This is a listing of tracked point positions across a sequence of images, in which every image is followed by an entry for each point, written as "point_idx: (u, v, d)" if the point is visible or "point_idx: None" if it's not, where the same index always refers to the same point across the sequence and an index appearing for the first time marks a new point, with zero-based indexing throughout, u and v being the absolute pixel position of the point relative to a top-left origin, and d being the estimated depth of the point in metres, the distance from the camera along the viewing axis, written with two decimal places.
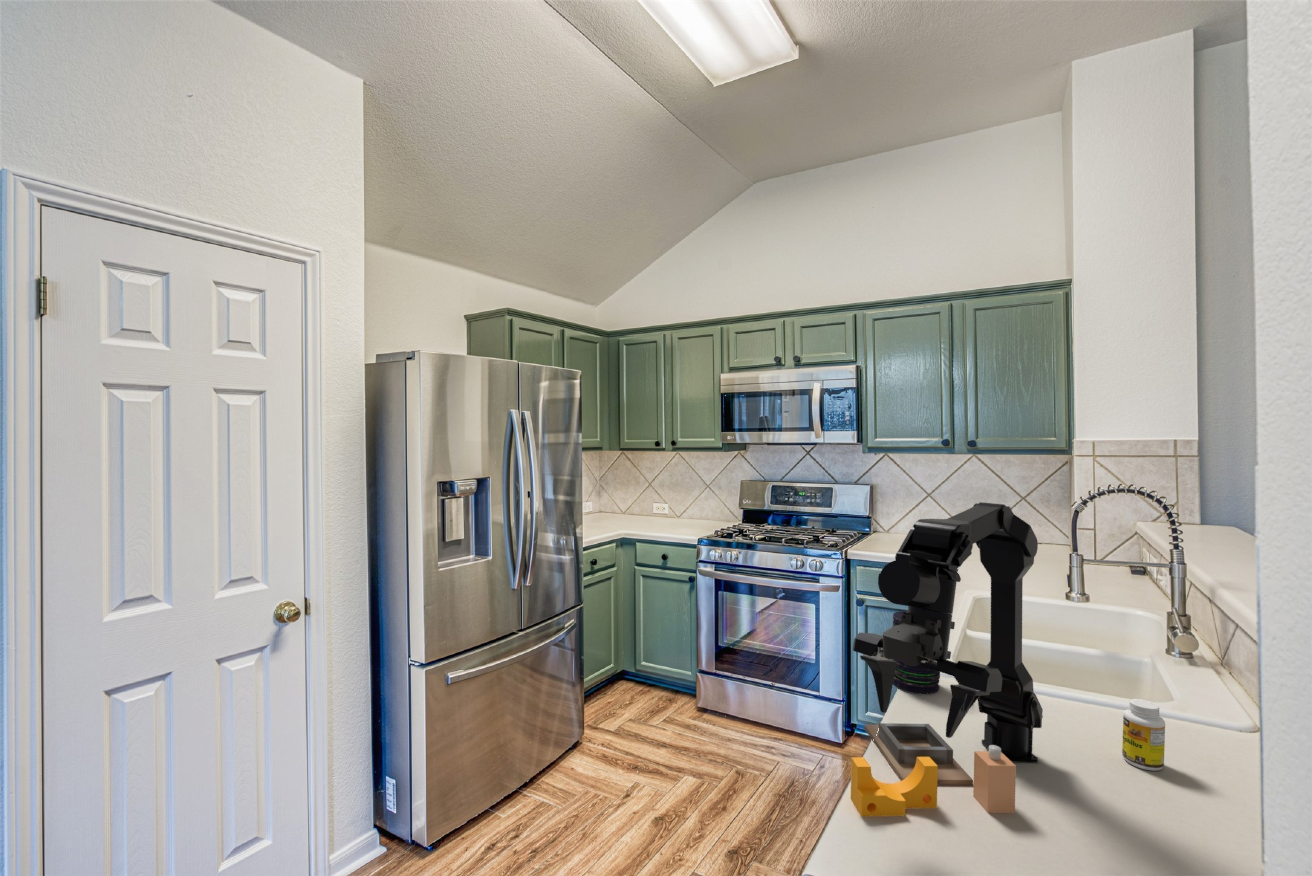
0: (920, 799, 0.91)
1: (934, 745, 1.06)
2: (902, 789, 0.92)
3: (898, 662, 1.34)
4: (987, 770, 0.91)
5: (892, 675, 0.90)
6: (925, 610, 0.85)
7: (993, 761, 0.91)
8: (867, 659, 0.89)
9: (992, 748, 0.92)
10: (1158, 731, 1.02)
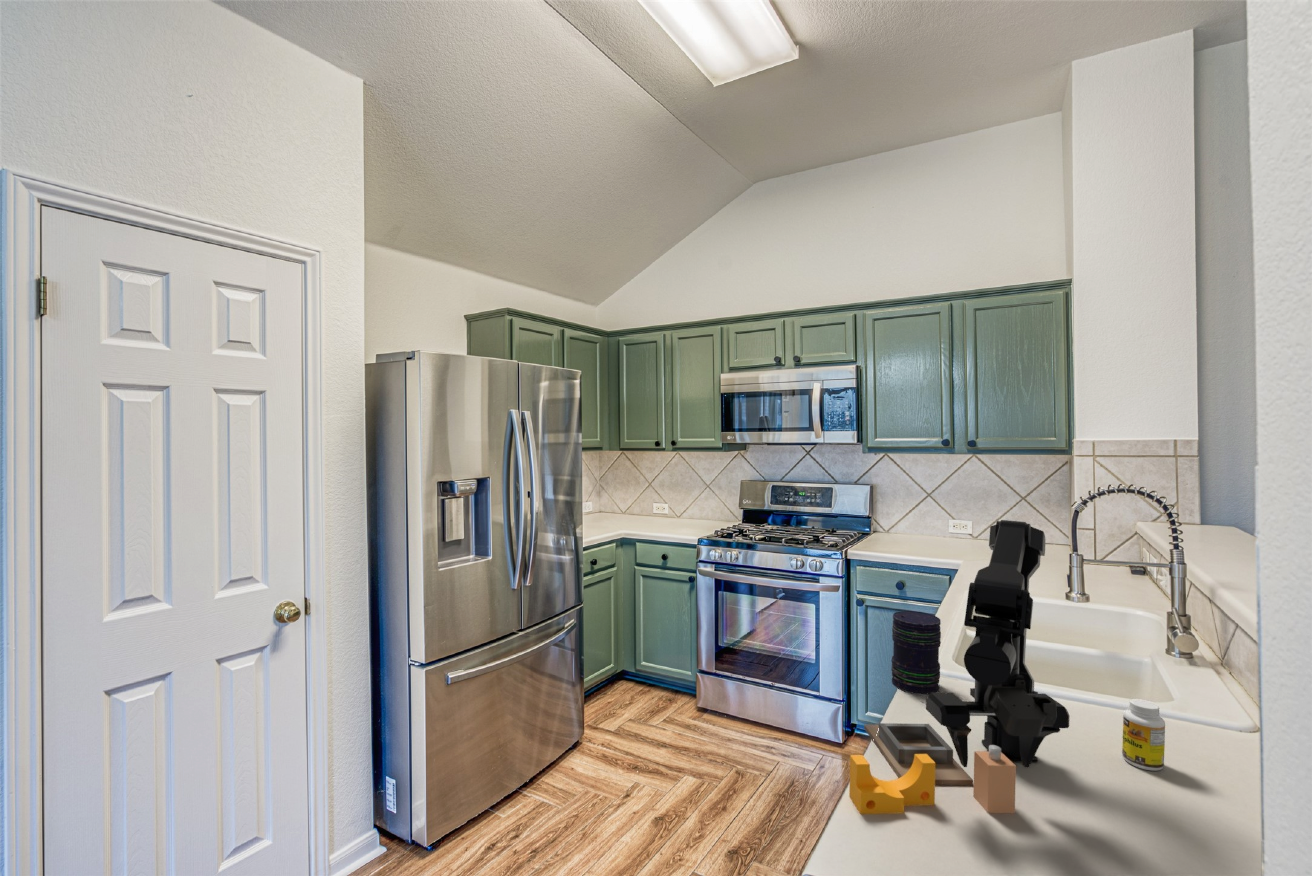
0: (918, 796, 0.92)
1: (934, 745, 1.06)
2: (900, 786, 0.93)
3: (898, 662, 1.34)
4: (987, 770, 0.91)
5: None
6: (1011, 671, 0.89)
7: (993, 761, 0.91)
8: (961, 730, 0.89)
9: (992, 748, 0.92)
10: (1158, 731, 1.02)
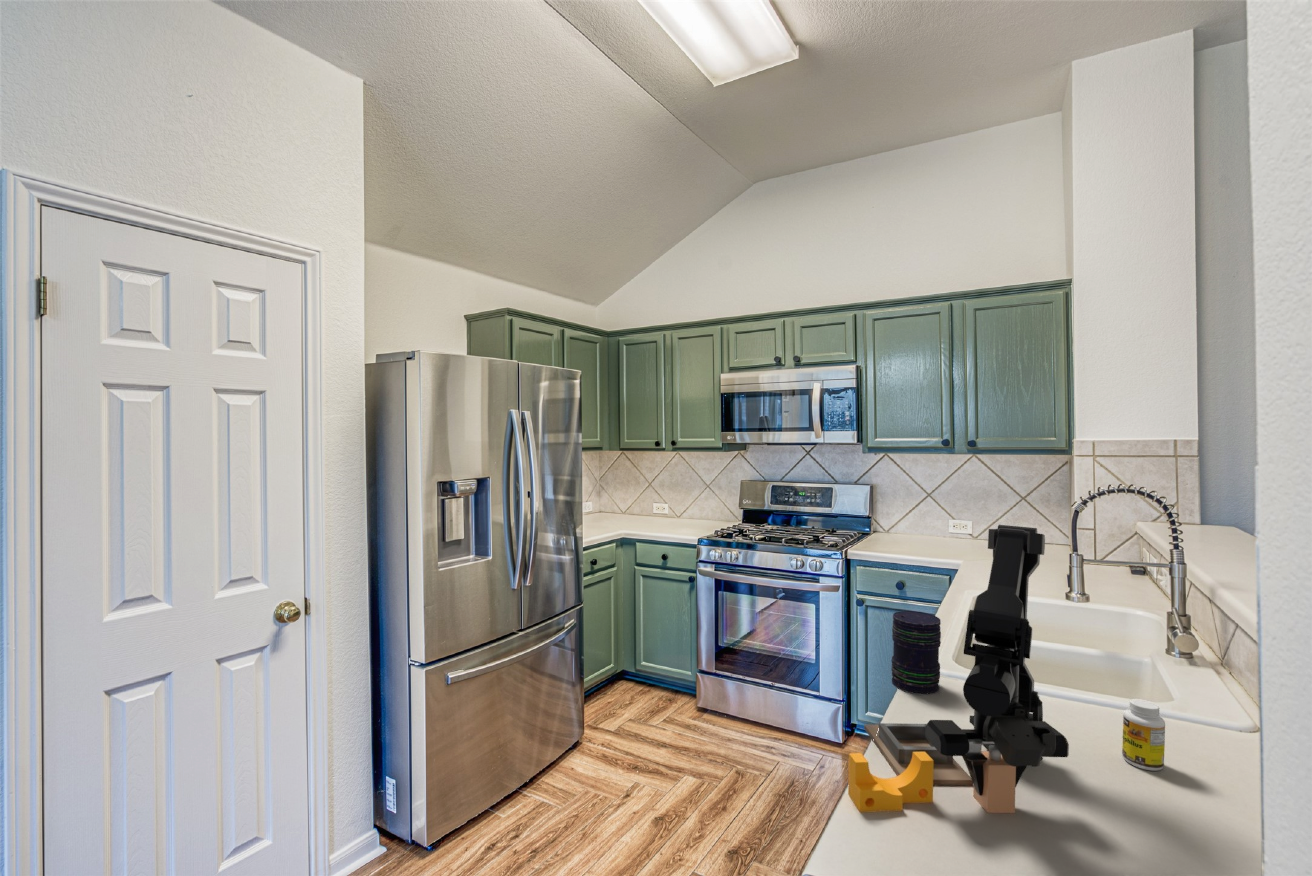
0: (916, 793, 0.93)
1: None
2: (899, 784, 0.93)
3: (898, 662, 1.34)
4: (987, 770, 0.91)
5: None
6: (1011, 700, 0.89)
7: (993, 760, 0.91)
8: (977, 759, 0.89)
9: (992, 748, 0.92)
10: (1158, 731, 1.02)
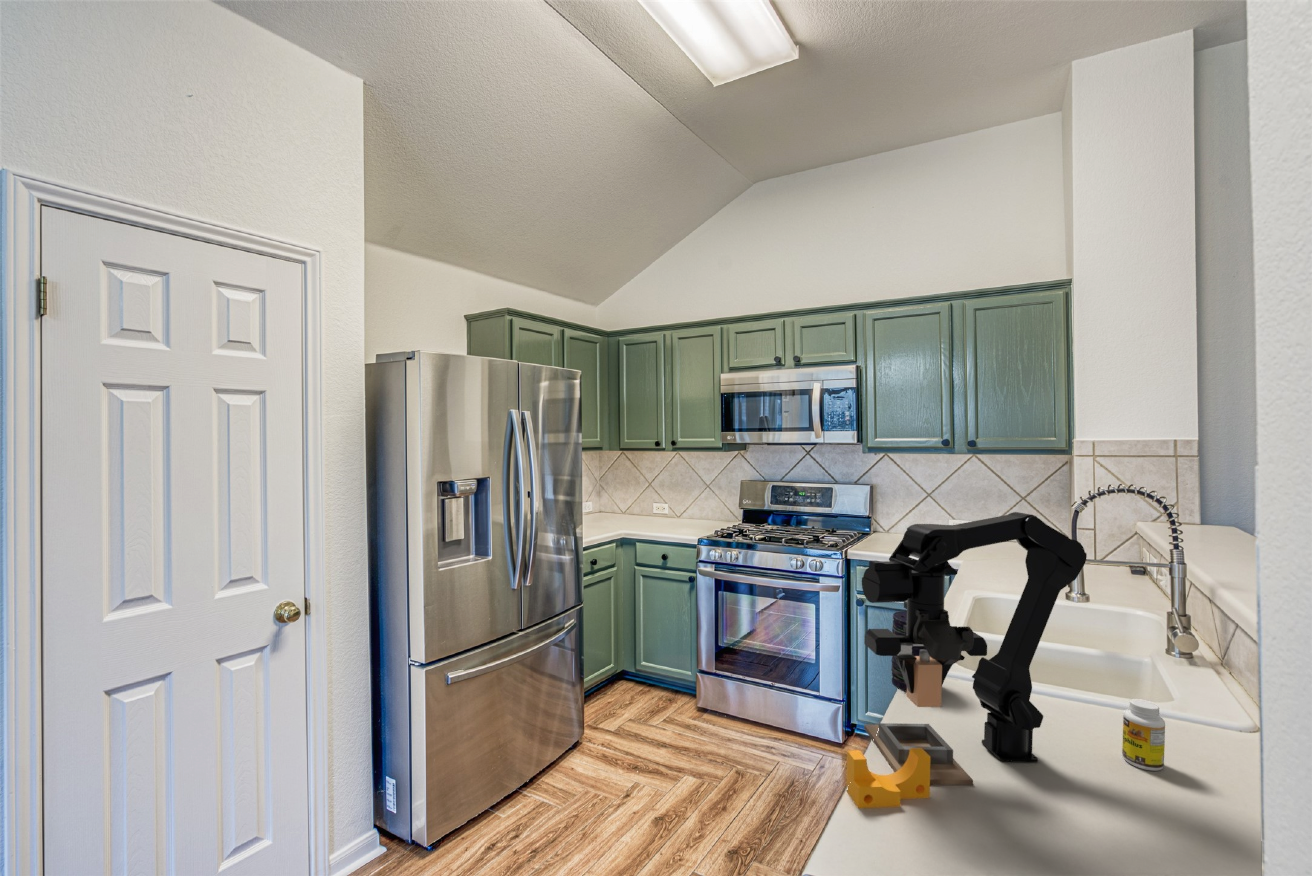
0: (914, 789, 0.94)
1: (934, 745, 1.06)
2: (896, 780, 0.94)
3: None
4: (917, 669, 1.02)
5: None
6: (937, 606, 1.01)
7: (923, 662, 1.03)
8: (908, 658, 1.01)
9: (922, 651, 1.04)
10: (1158, 731, 1.02)
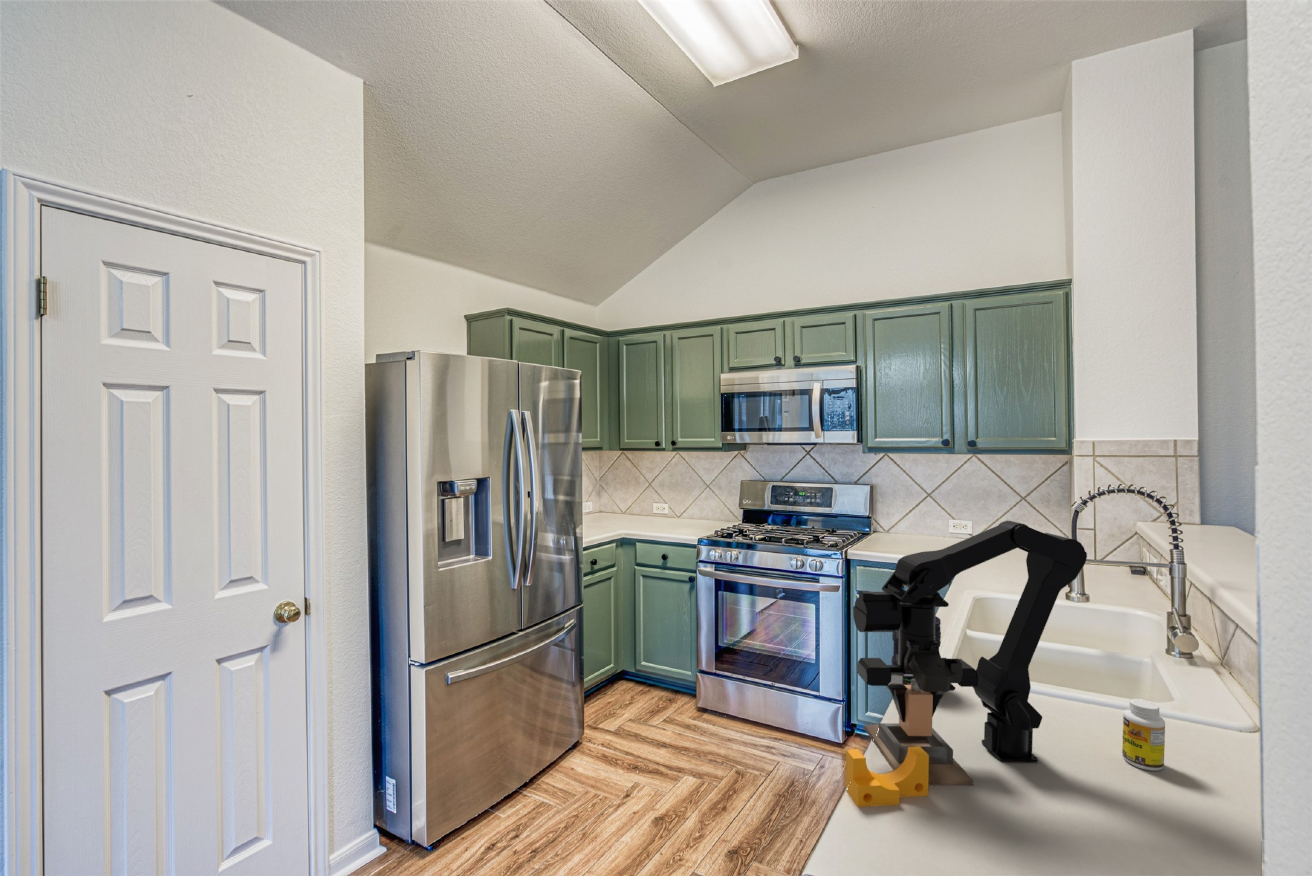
0: (912, 788, 0.94)
1: (934, 745, 1.06)
2: (895, 779, 0.95)
3: None
4: (908, 699, 1.04)
5: None
6: (927, 637, 1.03)
7: (914, 691, 1.05)
8: (898, 689, 1.03)
9: (913, 681, 1.06)
10: (1158, 731, 1.02)
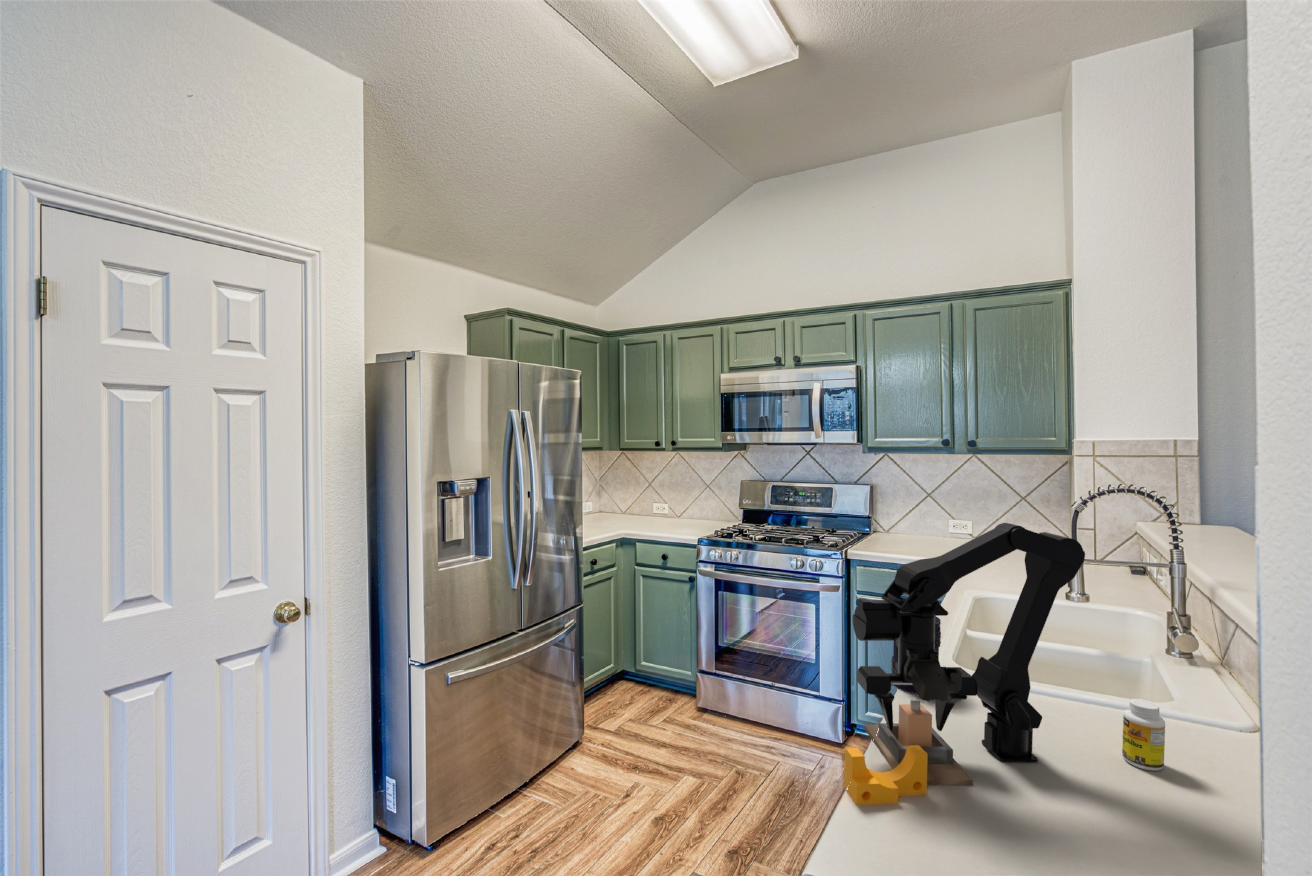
0: (911, 786, 0.94)
1: (934, 745, 1.06)
2: (894, 777, 0.95)
3: None
4: (907, 719, 1.04)
5: None
6: (927, 646, 1.03)
7: (914, 711, 1.05)
8: (885, 697, 1.03)
9: (913, 701, 1.06)
10: (1158, 731, 1.02)
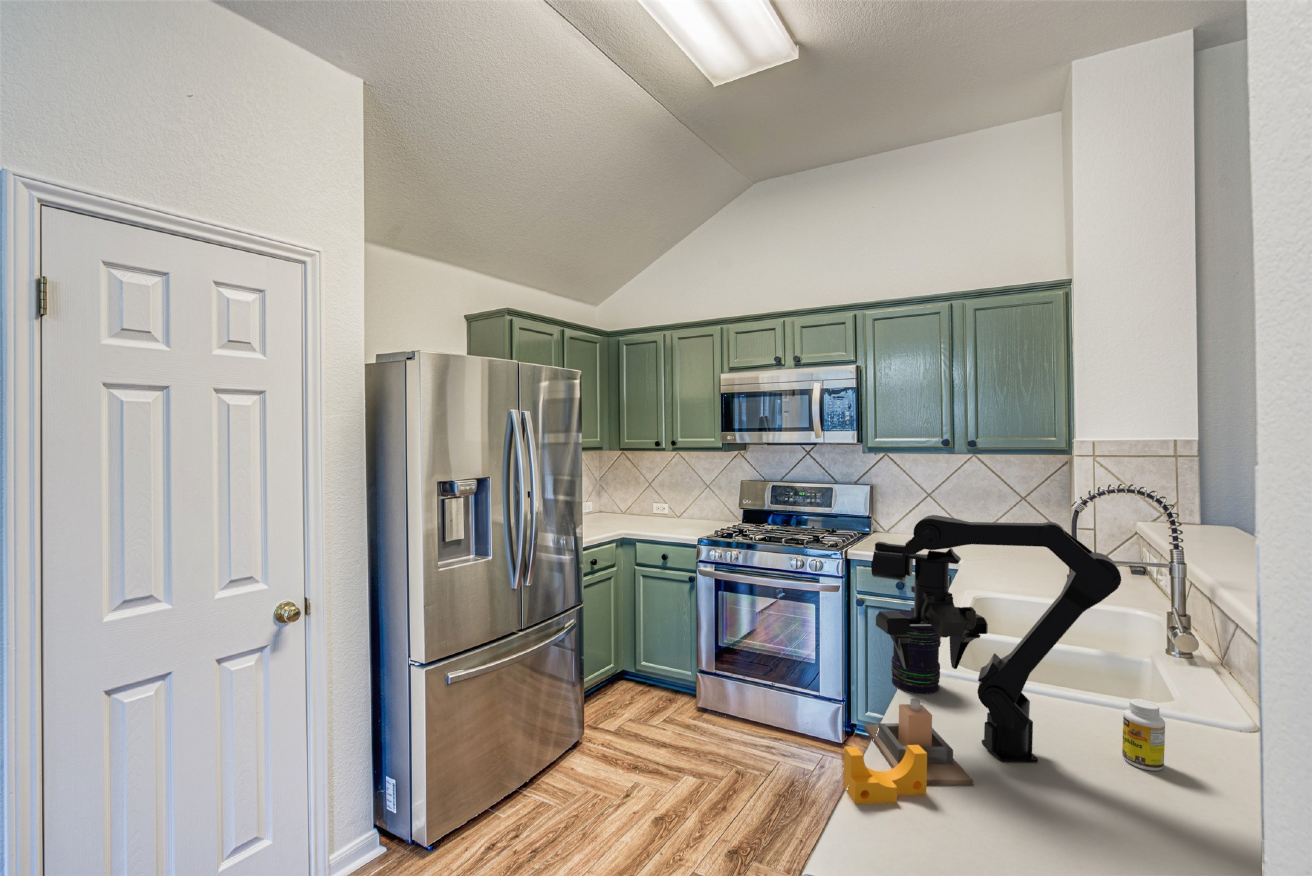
0: (910, 786, 0.95)
1: (934, 745, 1.06)
2: (893, 776, 0.95)
3: (898, 662, 1.34)
4: (907, 719, 1.04)
5: None
6: (942, 589, 1.11)
7: (914, 711, 1.05)
8: (903, 637, 1.11)
9: (913, 701, 1.06)
10: (1158, 731, 1.02)
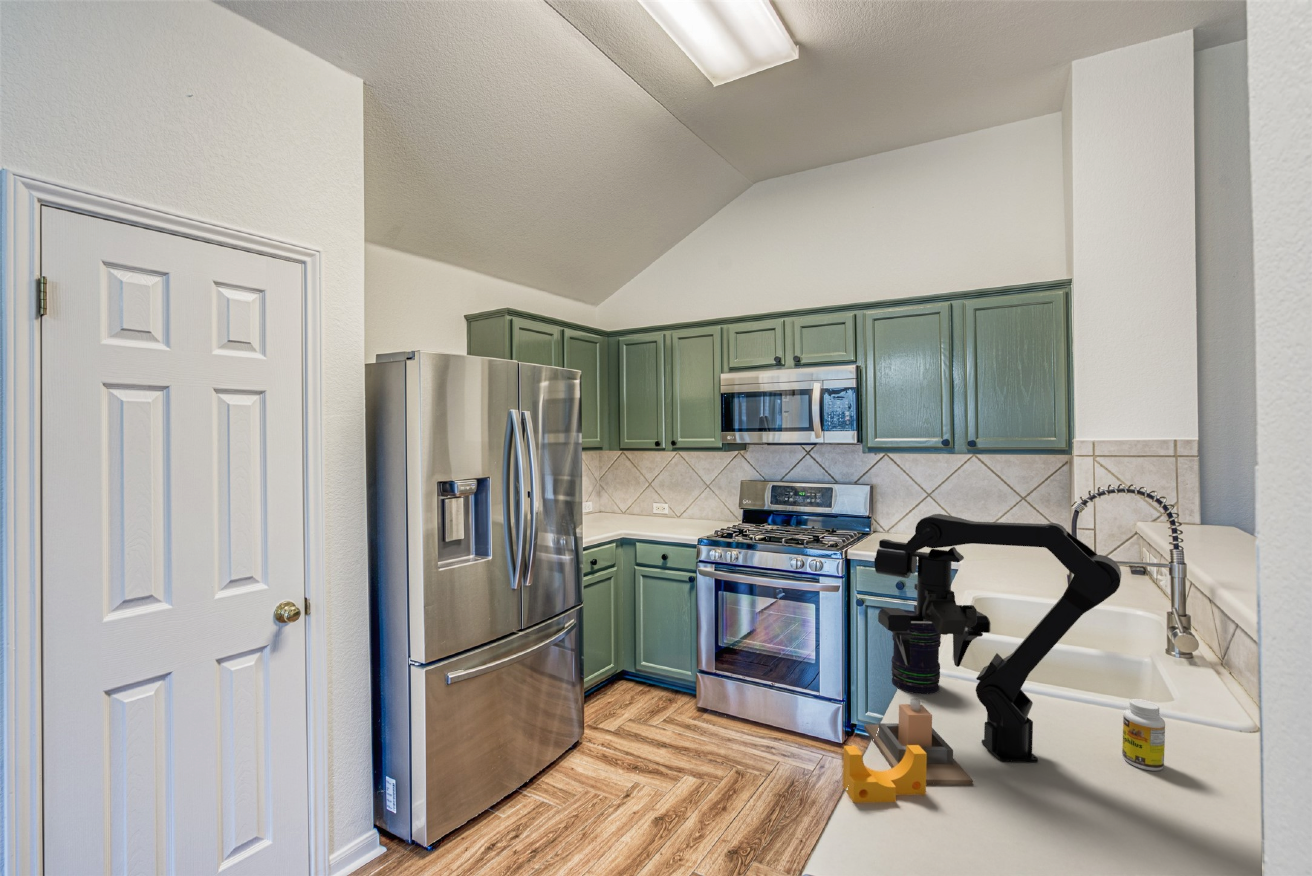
0: (910, 786, 0.95)
1: (934, 745, 1.06)
2: (892, 776, 0.95)
3: (898, 662, 1.34)
4: (907, 719, 1.04)
5: None
6: (944, 587, 1.12)
7: (914, 711, 1.05)
8: (904, 634, 1.12)
9: (913, 701, 1.06)
10: (1158, 731, 1.02)
